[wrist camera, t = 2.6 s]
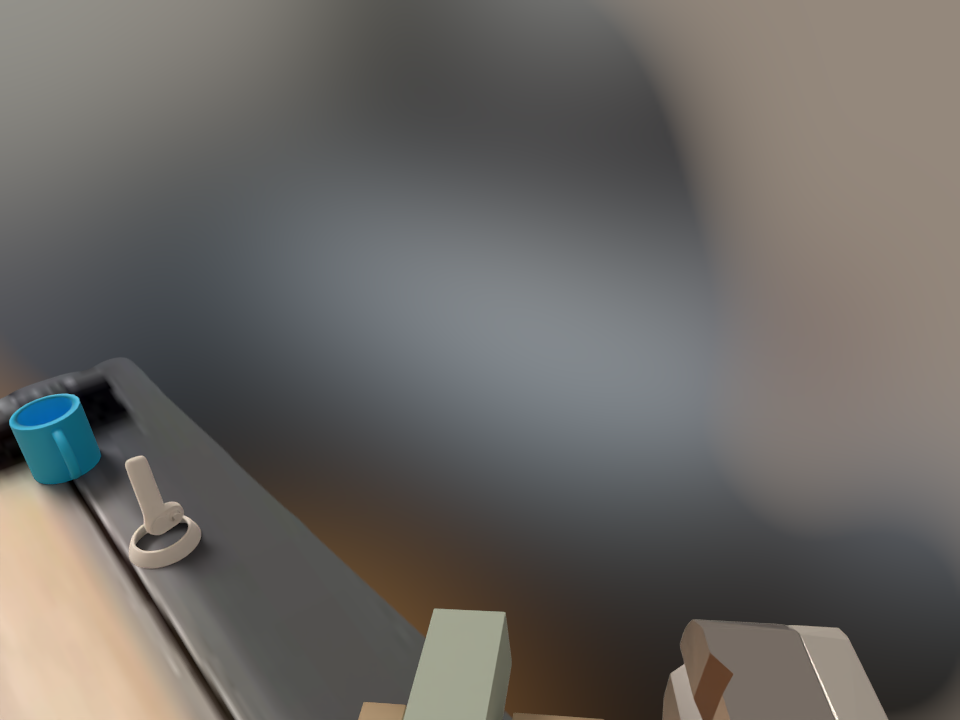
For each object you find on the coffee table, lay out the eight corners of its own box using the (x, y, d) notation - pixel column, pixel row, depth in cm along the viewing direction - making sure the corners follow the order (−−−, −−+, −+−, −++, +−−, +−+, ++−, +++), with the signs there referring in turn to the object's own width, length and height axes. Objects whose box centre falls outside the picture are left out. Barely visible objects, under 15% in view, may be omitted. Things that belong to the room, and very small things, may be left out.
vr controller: (150, 459, 98) (175, 442, 93) (191, 554, 97) (218, 542, 92) (87, 481, 92) (110, 464, 87) (130, 583, 91) (156, 571, 87)
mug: (27, 465, 109) (2, 412, 105) (91, 438, 113) (70, 386, 109) (49, 507, 100) (24, 452, 96) (118, 477, 104) (96, 422, 100)
